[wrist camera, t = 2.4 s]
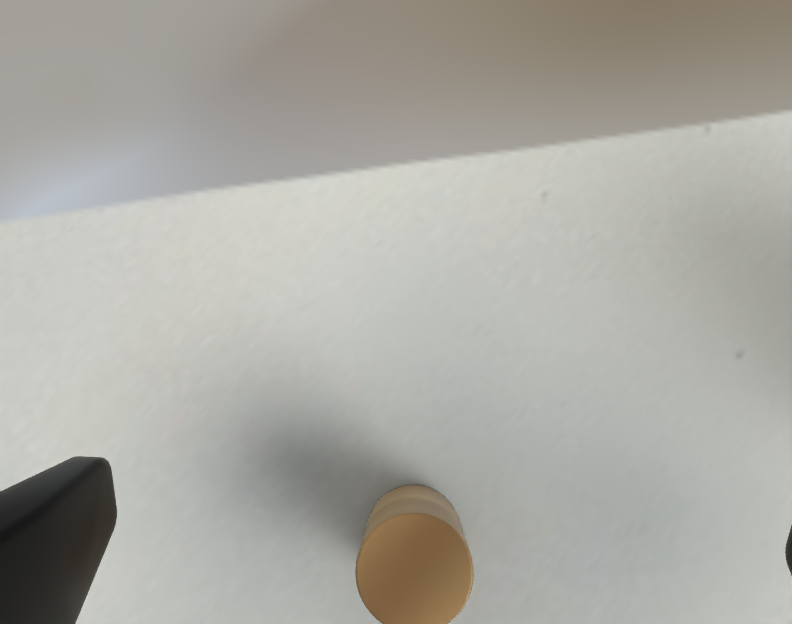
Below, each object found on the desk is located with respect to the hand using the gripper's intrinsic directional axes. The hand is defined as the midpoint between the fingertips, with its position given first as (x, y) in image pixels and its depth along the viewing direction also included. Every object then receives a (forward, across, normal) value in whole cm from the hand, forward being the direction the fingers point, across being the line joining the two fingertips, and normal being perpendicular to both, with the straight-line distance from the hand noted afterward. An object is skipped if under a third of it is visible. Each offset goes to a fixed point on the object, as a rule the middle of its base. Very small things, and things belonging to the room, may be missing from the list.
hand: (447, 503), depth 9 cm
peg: (+11, 0, +10) cm, 15 cm away
